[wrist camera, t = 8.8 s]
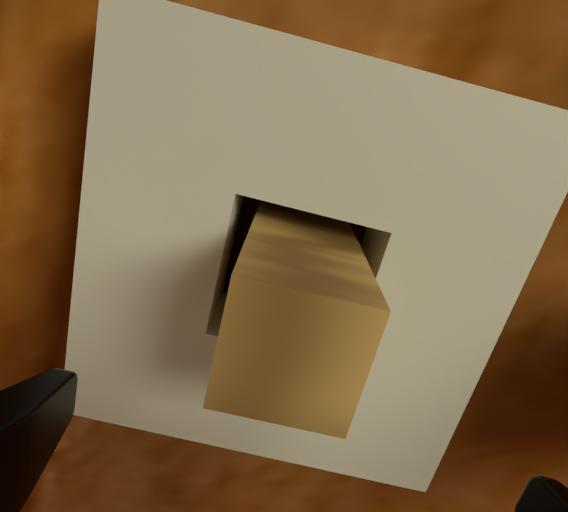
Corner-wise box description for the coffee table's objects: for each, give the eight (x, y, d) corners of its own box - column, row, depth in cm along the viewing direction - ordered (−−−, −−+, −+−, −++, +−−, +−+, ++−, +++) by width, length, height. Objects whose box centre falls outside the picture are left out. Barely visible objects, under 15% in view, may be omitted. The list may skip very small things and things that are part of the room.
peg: (348, 221, 19) (391, 311, 10) (325, 300, 20) (345, 439, 12) (261, 200, 19) (231, 274, 10) (242, 281, 20) (202, 408, 12)
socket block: (535, 117, 17) (601, 119, 14) (403, 427, 22) (425, 492, 19) (145, 11, 17) (100, -18, 13) (101, 359, 22) (60, 412, 18)
